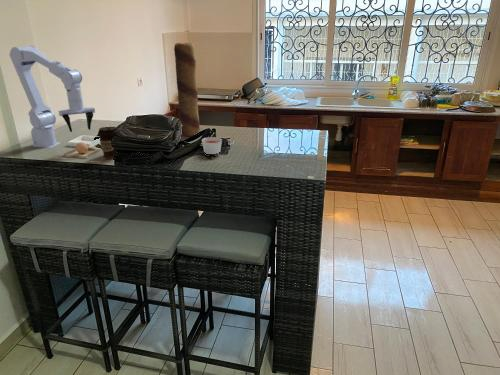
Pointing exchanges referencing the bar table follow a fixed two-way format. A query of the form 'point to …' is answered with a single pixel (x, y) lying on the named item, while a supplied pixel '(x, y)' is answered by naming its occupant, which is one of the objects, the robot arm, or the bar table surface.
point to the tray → (85, 155)
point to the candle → (211, 145)
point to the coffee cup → (107, 141)
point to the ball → (81, 147)
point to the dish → (86, 139)
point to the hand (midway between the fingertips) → (80, 130)
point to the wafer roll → (187, 88)
